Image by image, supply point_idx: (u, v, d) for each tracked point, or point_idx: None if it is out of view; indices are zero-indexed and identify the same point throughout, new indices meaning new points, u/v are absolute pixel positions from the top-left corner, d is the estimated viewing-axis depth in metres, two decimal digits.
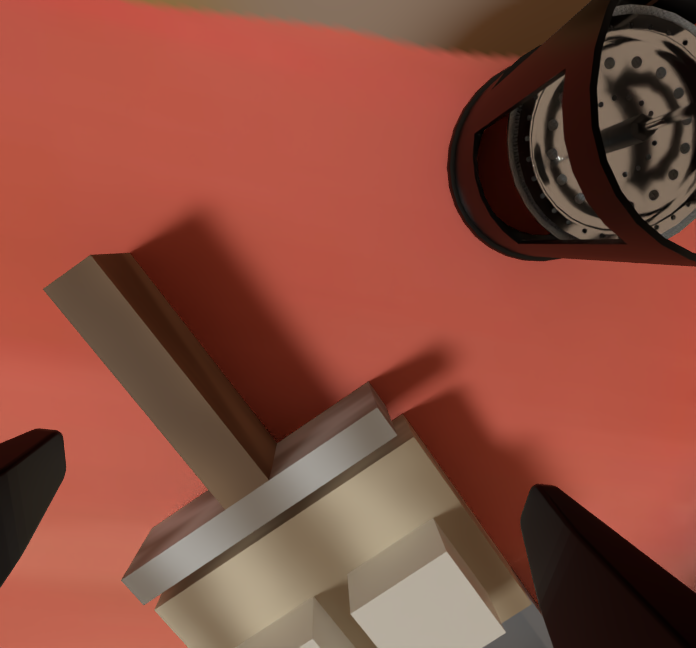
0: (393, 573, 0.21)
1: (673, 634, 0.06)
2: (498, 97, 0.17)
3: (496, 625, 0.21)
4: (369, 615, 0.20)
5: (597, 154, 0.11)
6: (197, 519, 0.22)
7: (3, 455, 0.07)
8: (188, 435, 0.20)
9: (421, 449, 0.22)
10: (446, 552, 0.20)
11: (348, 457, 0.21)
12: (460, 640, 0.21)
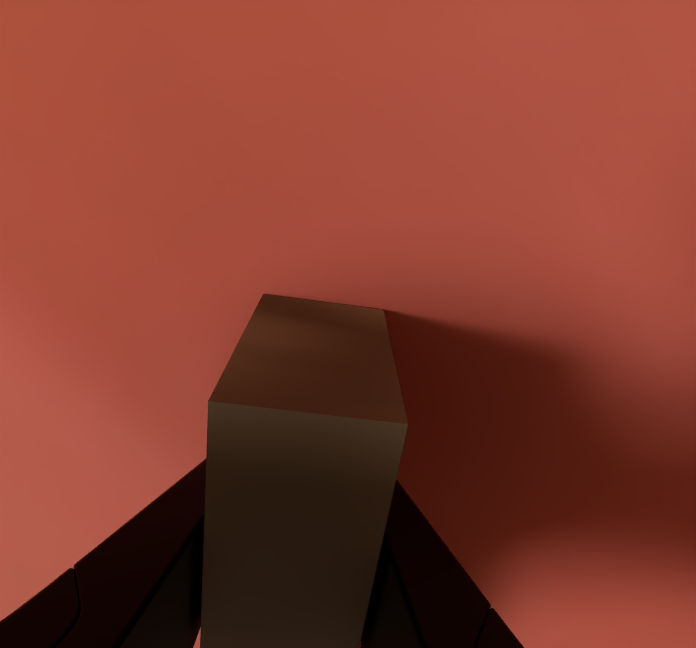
0: None
1: (412, 609, 0.06)
2: None
3: None
4: None
5: None
6: None
7: None
8: None
9: None
10: None
11: None
12: None
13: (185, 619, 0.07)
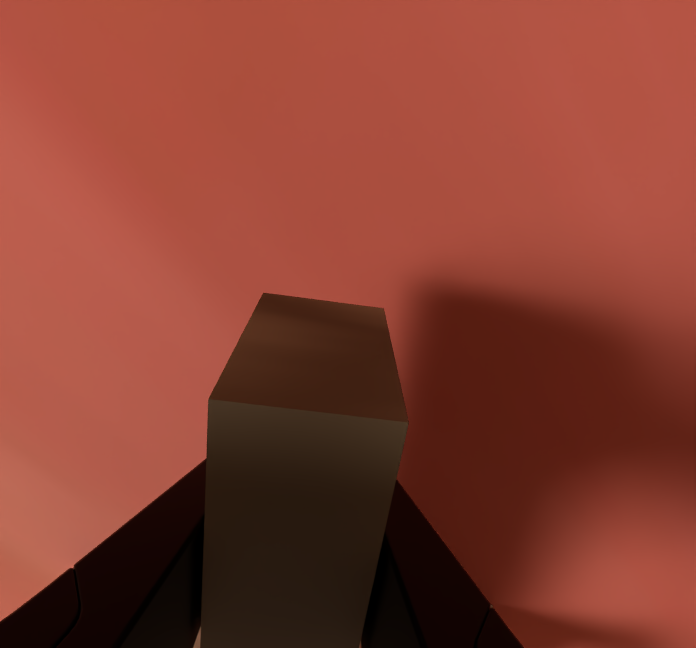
0: None
1: (412, 609, 0.06)
2: None
3: None
4: None
5: None
6: None
7: None
8: None
9: None
10: None
11: None
12: None
13: (185, 619, 0.07)
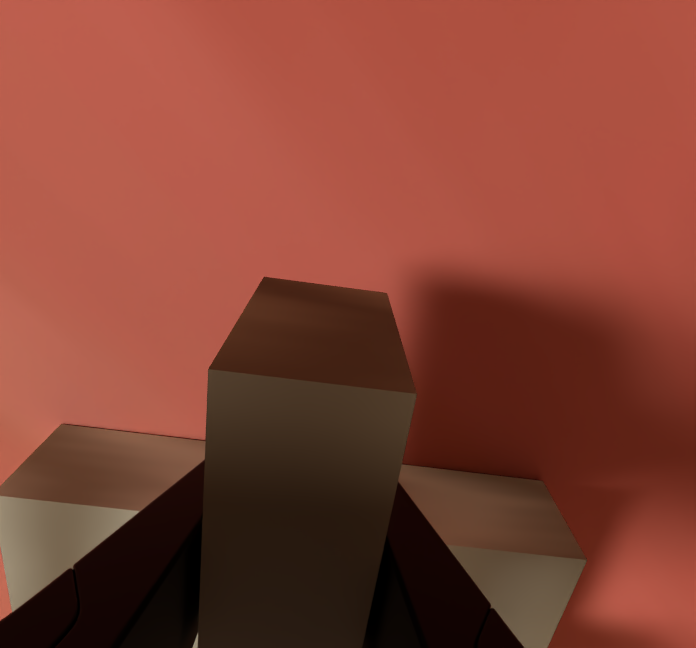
0: None
1: (413, 609, 0.06)
2: None
3: None
4: None
5: None
6: None
7: None
8: None
9: (574, 579, 0.13)
10: None
11: None
12: None
13: (185, 619, 0.07)
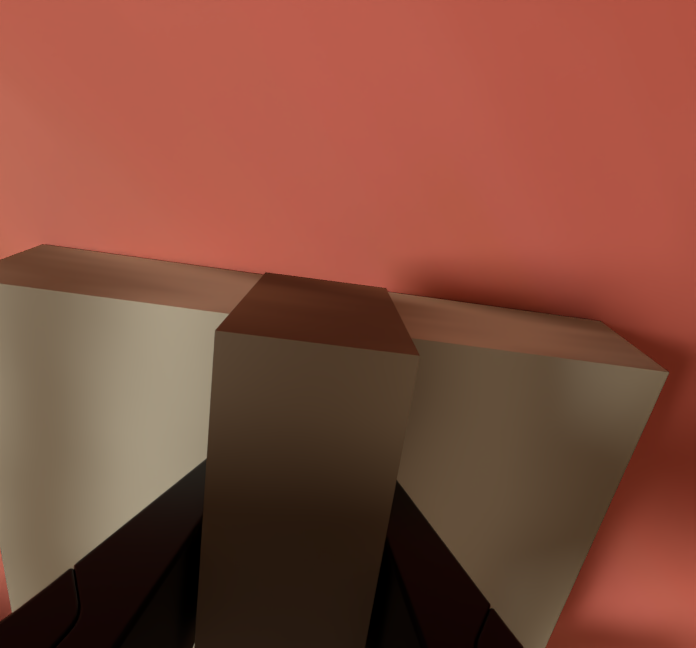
0: None
1: (412, 609, 0.06)
2: None
3: None
4: None
5: None
6: None
7: None
8: None
9: (651, 400, 0.11)
10: None
11: None
12: None
13: (185, 619, 0.07)
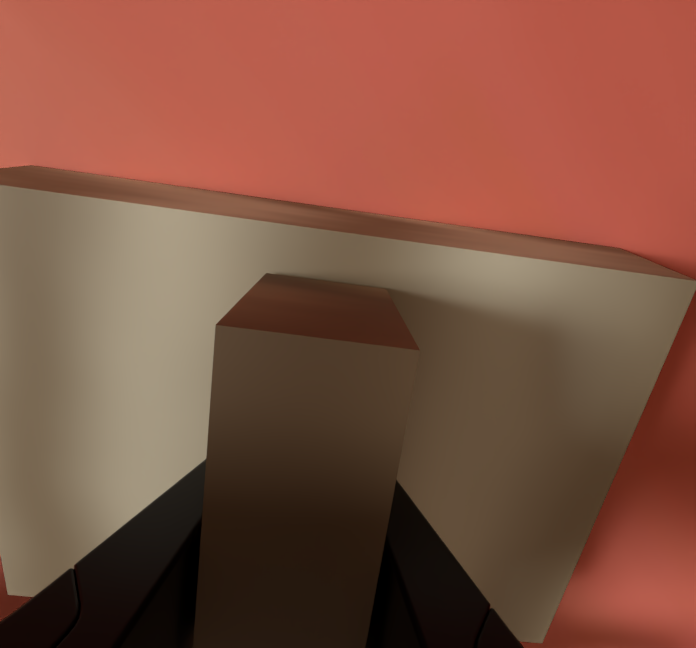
0: None
1: (412, 609, 0.06)
2: None
3: None
4: None
5: None
6: None
7: None
8: None
9: (679, 315, 0.10)
10: None
11: None
12: None
13: (185, 619, 0.07)
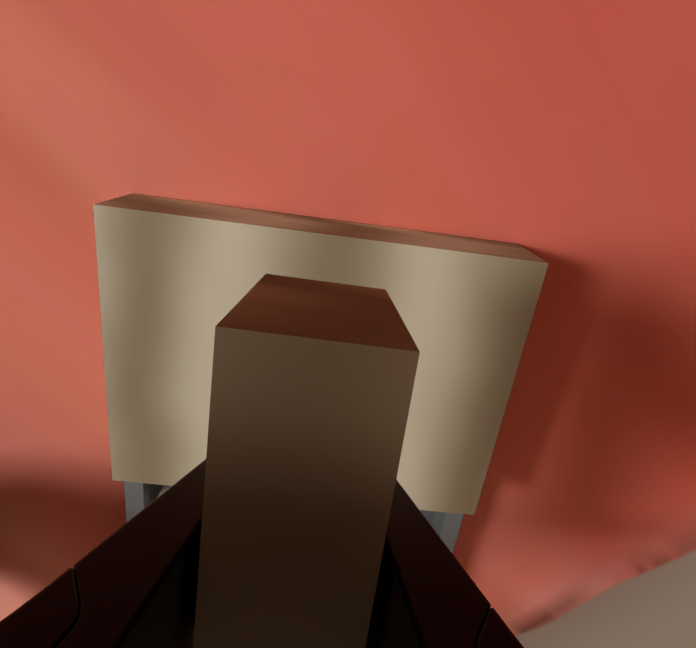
0: None
1: (412, 610, 0.06)
2: None
3: None
4: None
5: None
6: None
7: None
8: None
9: (540, 284, 0.16)
10: None
11: None
12: None
13: (185, 619, 0.07)
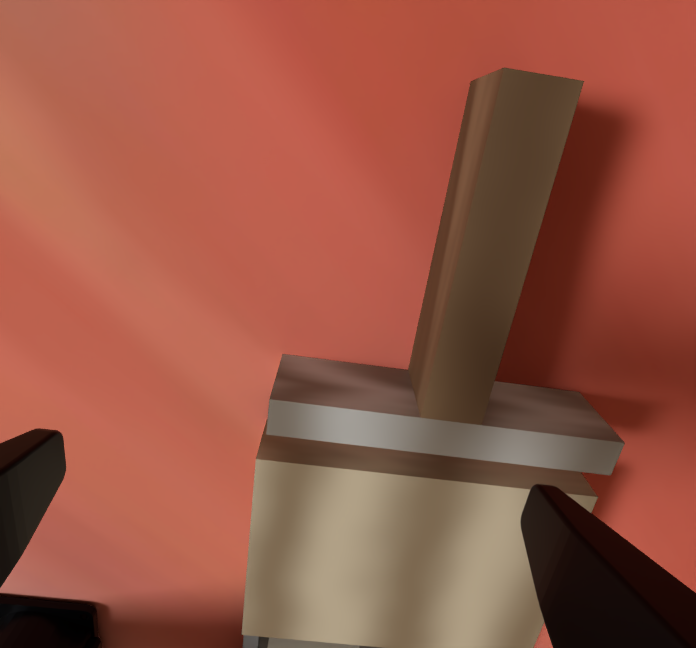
0: None
1: (673, 634, 0.06)
2: None
3: None
4: None
5: None
6: (371, 398, 0.19)
7: (3, 455, 0.07)
8: (465, 332, 0.17)
9: (590, 509, 0.21)
10: None
11: (558, 460, 0.19)
12: None
13: None
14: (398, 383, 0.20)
